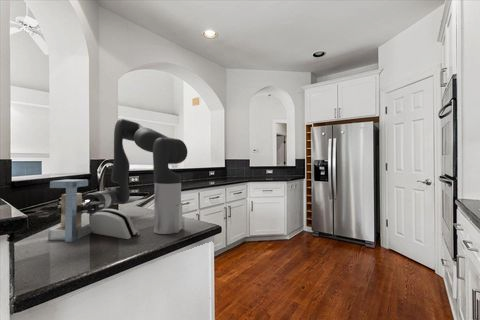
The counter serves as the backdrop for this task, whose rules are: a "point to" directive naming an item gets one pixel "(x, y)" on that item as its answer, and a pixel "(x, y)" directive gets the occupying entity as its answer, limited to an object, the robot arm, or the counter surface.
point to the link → (63, 211)
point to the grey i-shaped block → (69, 212)
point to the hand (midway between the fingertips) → (65, 210)
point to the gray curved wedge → (112, 223)
